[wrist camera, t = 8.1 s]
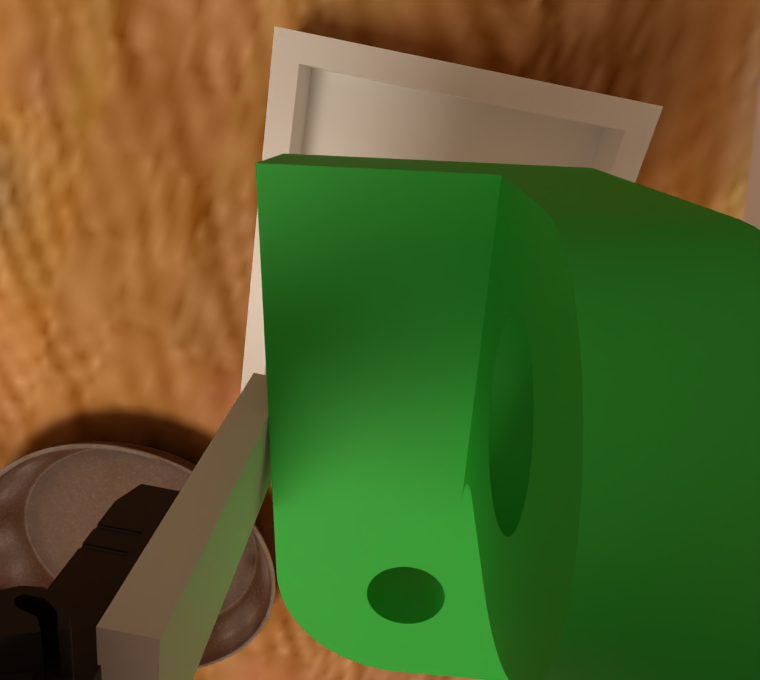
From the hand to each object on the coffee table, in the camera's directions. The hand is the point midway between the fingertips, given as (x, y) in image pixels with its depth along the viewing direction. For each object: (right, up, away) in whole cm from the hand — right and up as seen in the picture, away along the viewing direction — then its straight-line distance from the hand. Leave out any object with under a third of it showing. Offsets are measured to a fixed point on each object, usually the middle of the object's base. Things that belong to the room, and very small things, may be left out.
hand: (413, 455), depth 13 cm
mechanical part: (0, +1, 0) cm, 1 cm away
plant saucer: (-15, -9, +21) cm, 28 cm away
